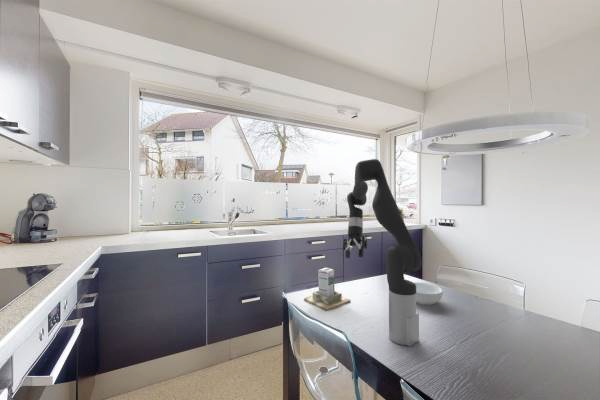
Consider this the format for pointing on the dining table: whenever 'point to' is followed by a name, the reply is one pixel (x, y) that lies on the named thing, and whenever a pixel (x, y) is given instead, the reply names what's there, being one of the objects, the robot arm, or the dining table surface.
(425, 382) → the dining table surface
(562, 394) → the dining table surface
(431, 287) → the cereal bowl
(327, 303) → the socket
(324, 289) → the syrup box
